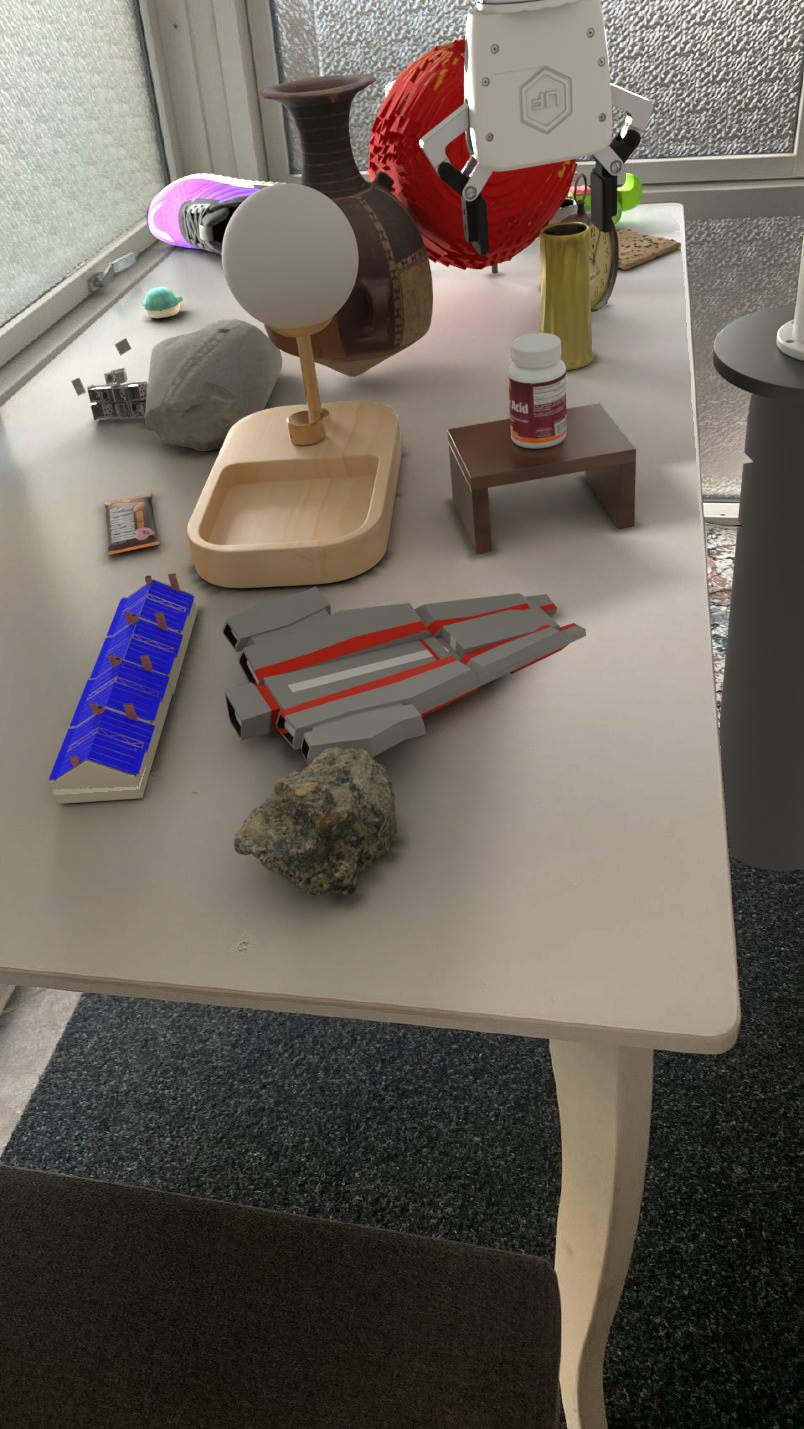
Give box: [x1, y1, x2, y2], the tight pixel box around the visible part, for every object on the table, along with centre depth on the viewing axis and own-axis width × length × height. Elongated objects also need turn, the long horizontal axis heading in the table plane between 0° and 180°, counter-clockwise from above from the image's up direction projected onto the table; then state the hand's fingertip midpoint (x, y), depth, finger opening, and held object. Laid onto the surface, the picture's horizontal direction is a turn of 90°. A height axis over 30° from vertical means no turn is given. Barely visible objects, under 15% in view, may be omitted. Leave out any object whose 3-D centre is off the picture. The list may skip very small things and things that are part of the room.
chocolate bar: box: [103, 492, 160, 556], centre depth 106 cm, size 11×5×1 cm, turn 14°
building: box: [48, 572, 198, 805], centre depth 83 cm, size 23×6×4 cm, turn 179°
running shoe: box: [145, 172, 286, 256], centre depth 172 cm, size 11×29×15 cm
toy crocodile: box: [565, 172, 643, 226], centre depth 164 cm, size 20×7×6 cm, turn 98°
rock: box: [233, 747, 398, 897], centre depth 67 cm, size 6×9×10 cm
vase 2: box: [538, 222, 595, 371], centre depth 122 cm, size 6×6×14 cm
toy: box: [367, 35, 578, 271], centre depth 128 cm, size 23×24×30 cm
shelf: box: [446, 403, 637, 555], centre depth 98 cm, size 14×10×7 cm
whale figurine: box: [141, 286, 185, 319], centre depth 154 cm, size 6×7×4 cm
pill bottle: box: [507, 332, 567, 449], centre depth 93 cm, size 5×5×8 cm
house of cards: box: [70, 337, 148, 422], centre depth 127 cm, size 9×9×8 cm
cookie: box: [616, 228, 682, 271], centre depth 155 cm, size 12×12×1 cm
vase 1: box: [257, 73, 434, 378], centre depth 121 cm, size 23×19×30 cm
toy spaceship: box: [221, 586, 587, 767], centre depth 81 cm, size 19×27×5 cm
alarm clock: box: [561, 173, 619, 313], centre depth 132 cm, size 11×5×16 cm, turn 146°
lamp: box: [186, 182, 403, 589], centre depth 99 cm, size 33×17×25 cm, turn 176°
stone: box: [144, 318, 283, 452], centre depth 125 cm, size 26×7×15 cm
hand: (541, 239), depth 87 cm, fingers open, 9 cm apart
